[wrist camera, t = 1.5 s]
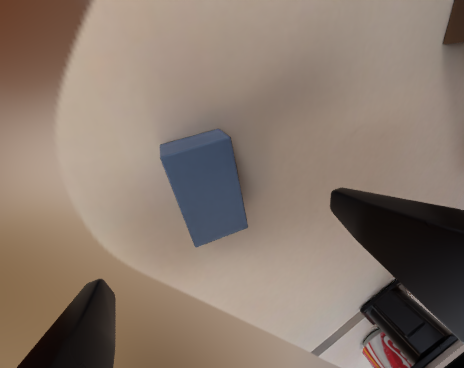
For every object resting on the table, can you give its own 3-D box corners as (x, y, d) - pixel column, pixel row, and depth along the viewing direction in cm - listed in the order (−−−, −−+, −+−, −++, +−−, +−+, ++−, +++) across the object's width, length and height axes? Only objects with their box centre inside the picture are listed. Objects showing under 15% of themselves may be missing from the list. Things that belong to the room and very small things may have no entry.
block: (237, 209, 14) (248, 228, 12) (190, 226, 13) (195, 248, 11) (219, 128, 11) (230, 136, 9) (159, 144, 10) (159, 157, 9)
